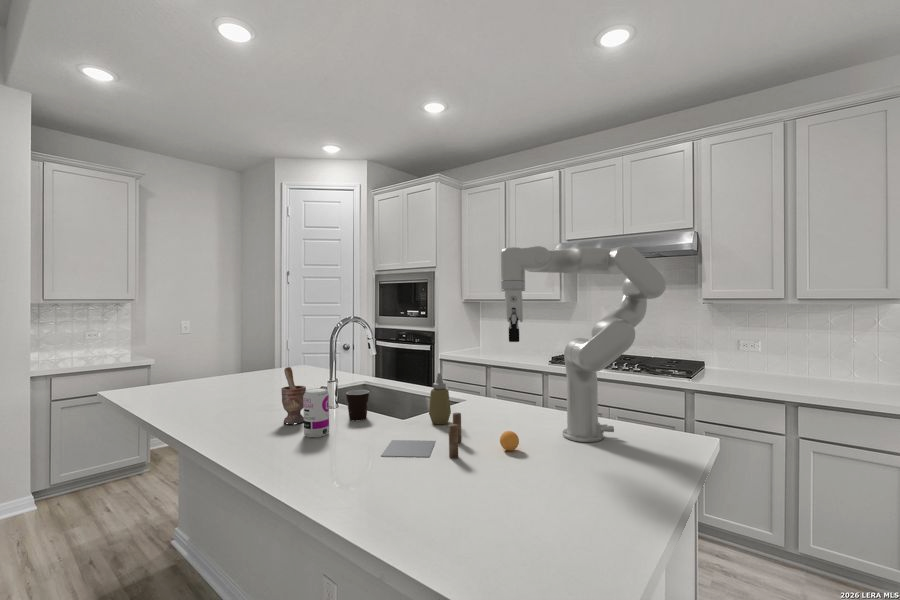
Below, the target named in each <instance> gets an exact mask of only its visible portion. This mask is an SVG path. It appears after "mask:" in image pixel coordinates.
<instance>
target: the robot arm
mask: <svg viewBox="0 0 900 600" xmlns="http://www.w3.org/2000/svg"><path fill="white" fill-rule="evenodd" d="M526 272H529V273H548V274H551V273H552V274H553V273H558V274H560V273H562V274H583V275H584V274H589V275H593V274H594V275H619V274H623V275H624V277H625V279H624V281H623V283H622V299H621V301H620V303H618V305H617V306H616V307H615V308H613V310H611V311H610V312H609V313H608V314H607V315H605V316H603V318H601V319H599V321H597V322H596V323H595V324H594V325H593V327H592V329H591V337H592V338H590V339H589V338H581V337H577V338H573V339H571V340H569V342H567V343H566V345H565V348H564V350H563V351H564V353H563V357H564V358H563V359H564V364H565V375H566V412H567V413H566V415H567V416H566V418H567V419H566V423H567V426H566V428H564V429H563V430H562V436H563V438H565V439H567V440H570V441H573V442H580V443H594V442H600V441H602V440H603V439H604V433H606V432H607V433H614V432H615V429H614V428H615V426H613V425H608V424H601V423H600V422H599V405H598V404H599V403H598V402H599V401H598V400H599V399H598V396H599V395H598V390H599V389H598V387H599V386H598V385H599V384H598V383H599V382H598V375H597V373H598V372H600V371H602V370H604V369H605V368H607V367H608V366H609V365H610V364H612V363H614V362H615V360H617V359H618V358H619V357H620V356H622V355H623V354H624V353H625V352H627V351H628V350H629V349H630V348H631V346H633V344H634V342H635V339H636V329H635V327H636V326H638V325H639V324H640V323H641V322H642V320H643V319H644V318H645V316H646V313H647V307H648V300H654V299H658V298H659V297H661V296H662V295H663V294H664V293H665V291H666V287H667V283H666V280H665V277H664V276H663V274H662V273H661V272H660V270H658V269H657V268H656V267H655V266H654V265H653V264H652V263H651V262H650V261H649V260H648V259H647V258H646V257H645V256H644V255H643V254H642V253H640V252H639V250H637V249H636V248H634V247H632V246H630V245H622V246H618V247H612V248H611V247H590V246H589V247H587V246H585V247H584V246H578V247H577V246H576V247H570V248H566V249H560V250H559V249H558V250H549V249H548V248H546V247H544V246H539V245H536V246H530V247H518V246H517V247H515V246H513V247H512V246H511V247H504V248H503V249H502V250H501V251H500V279H501V281H500V284H501V288H500V289H501V291H500V292H504V297H505V314H506V315H505V316H506V321H507V323H509V325H508V342H509V343H519V342H520V328H519V322H520V323H523V320H524V317H523V316H524V315H523V313H524V311H523V303H524V302H523V292H526Z"/></svg>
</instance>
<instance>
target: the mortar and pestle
mask: <svg viewBox="0 0 900 600" xmlns="http://www.w3.org/2000/svg"><path fill="white" fill-rule="evenodd" d="M283 371H284V376H285V379H286V381H287V384H288V386H284V387H281V403H282V406H283V409H284V411H285V412H286V413H287V416H286V417H284V420H283V424H284V423H288V424H294V423H300V422H303V421H304V415H302V413H301V411H302V410H304V408H303V396H304V394H305V391H306V390H307V387H306V386H305V385H295V381H294V375H293V374H294V373H293V369H292V367H290V366H287V367H284V370H283ZM303 423H304V422H303ZM300 424H301V423H300Z"/></svg>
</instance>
